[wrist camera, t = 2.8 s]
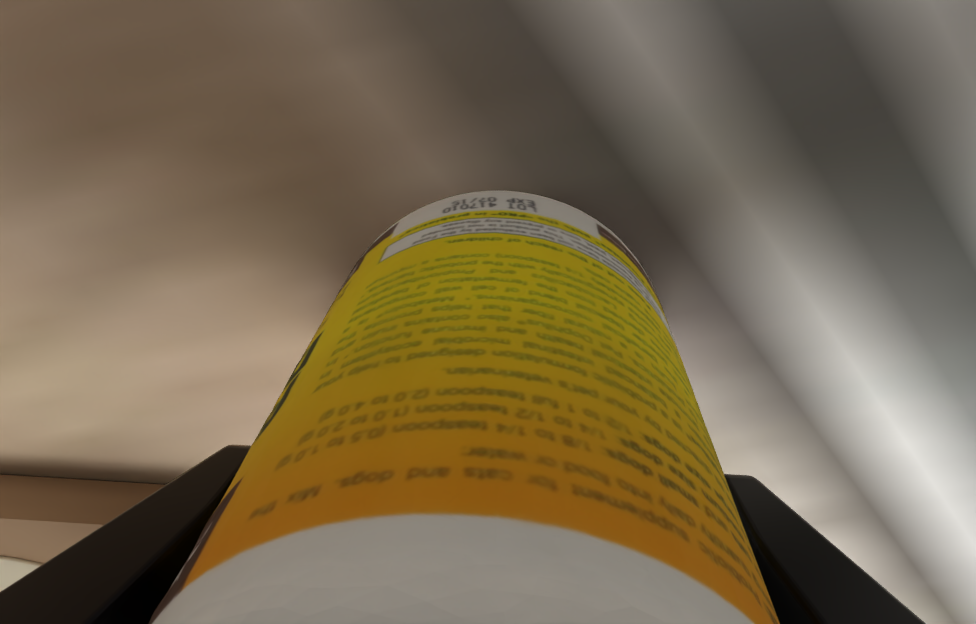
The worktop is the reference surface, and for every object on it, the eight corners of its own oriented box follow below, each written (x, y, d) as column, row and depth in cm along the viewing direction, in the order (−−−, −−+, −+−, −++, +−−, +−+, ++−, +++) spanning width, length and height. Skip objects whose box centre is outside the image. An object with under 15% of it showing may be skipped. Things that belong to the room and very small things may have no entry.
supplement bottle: (329, 175, 11) (-551, 1116, 2) (679, 183, 11) (1417, 1295, 2) (356, 452, 14) (10, 1427, 5) (640, 464, 13) (871, 1520, 4)
